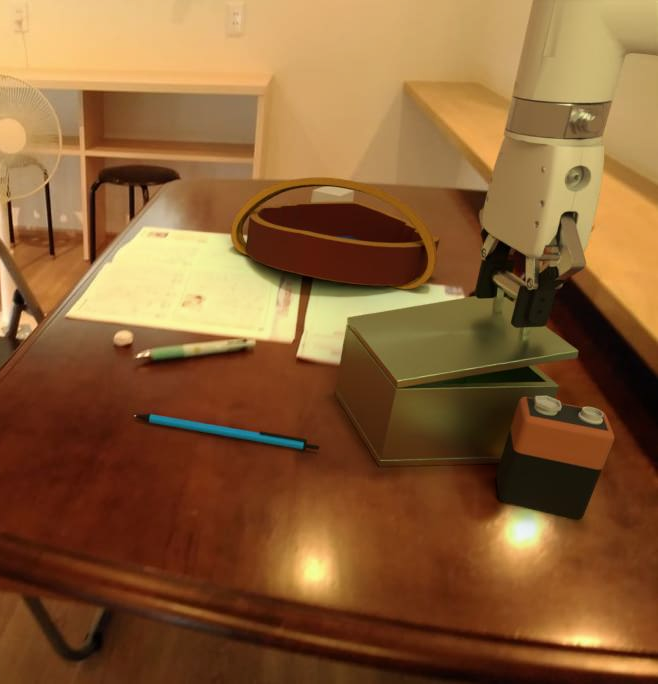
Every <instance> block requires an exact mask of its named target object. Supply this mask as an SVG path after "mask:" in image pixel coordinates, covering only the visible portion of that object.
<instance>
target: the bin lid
mask: <svg viewBox="0 0 658 684" xmlns="http://www.w3.org/2000/svg"><path fill="white" fill-rule="evenodd" d="M489 279H490V281H491V283H493V284H494V285H495V287H494V297H493V298H485V299H479V298H477V297H476V296H475V295H474V296H473V295H472V296H467V297H461V298H456V299H450V300H449V299H448V300H443V301H437V302H432V303H425V304H420V305H413V306H409V307H408V306H407V307H402V308H395V309H390V310H385V311H384V310H383V311H377V312H371V313H366V314H365V313H364V314H360V315H354V316H348V317H347V318H346V325H349V327H350V328H351V329H352V331H353V332H354V333H355V334H356V336H357V337H358V338H359V340H360V341H361V342H362V343H363V345H364V346H365V347H366V349H367V350H368V351H369V352H370V354H371V355H372V356H373V358H374V359H375V360H376V362H377V363H378V364H379V365H380V367H381V368H382V369H383V371H384V372H385V373H386V374H387V376H388V377H389V378H390V380H391V381H392V382H393V383H394V385H395V386H396V387H397V388H401V387H407V386H413V385H419V384H425V383H431V382H437V381H443V380H449V379H455V378H461V377H467V376H473V375H479V374H485V373H491V372H497V371H503V370H509V369H515V368H521V367H527V366H533V365H535V366H538V365H539V366H540V365H545V364H549V363H555V362H562V361H567V360H574V359H578V358H579V357H578V356H579V350H578V349H577V348H576V347H574V346H573V345H572V344H570V343H569V342H567V341H566V340H565V339H563V338H562V337H561V336H559V335H558V334H557V333H555V332H554V331H552V330H551V329H550V328H548V327H547V326H546V325H545V326H543V327H524V328H515V327H514V326H513V325H512V324H511V319H512V315H513V311H514V307H515V303H514V302H513V301H511V299H509V298H508V297H507V296H509V297H510V298H512V299H513V300H515V301H516V299H517V295H518V291H519V288H520V286H526V281H525V280H523V279H521V278H520V277H518V276H517V275H515V274H514V273H511V272H509V271H508V270H506V269H505V268H503V267H498V268H496V269H494V270H493V271H492V272H491V273H490V276H489ZM504 292H505V293H507V296H506V297H504Z"/></svg>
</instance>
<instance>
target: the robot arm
mask: <svg viewBox="0 0 658 684" xmlns="http://www.w3.org/2000/svg"><path fill="white" fill-rule="evenodd" d="M630 54H638V55H649V56H657V57H658V0H532V2H531V6H530V12H529V17H528V21H527V26H526V31H525V34H524V39H523V44H522V49H521V54H520V58H519V63H518V67H517V71H516V76H515V81H514V86H513V89H512V96H511V100H510V104H509V108H508V114H507V118H506V122H505V127H504V131H503V136H504V137H503V139H502V142H501V145H500V148H499V151H498V154H497V156H496V159H495V161H494V162H495V163H494V166H493V170H492V173H491V176H490V180H489V183H488V187H487V192H486V196H485V201H484V205H483V207H482V208H481V209H480V210H479V212H478V220H479V225H480V227H481V233H480V236H481V237H480V238H481V242H482V246H481V248H480V252H479V255H480V258H481V259H482V260H481V262H480V266H479V271H478V276H477V280H476V285H475V288H474V296H476V297H477V298H479V299H485V298H493V297H494V287H495V285H494V284H493V283H491V281H490V279H489V276H490V273H491V272H492V271H493V270H494V269H496V268H498V267H503V268H505V269H506V270H508V271H509V272H511V273H512V274H514V269H515V266H516V265H515V264H516V260H515V259H514V258H512V256H514V254H515V252H516V251H517V252H519V253H521V254H522V255H524V256H525V282H526V286H520V288H519V291H518V295H517V299H516V300H515V303H514V304H515V307H514V311H513V315H512V319H511V324H512V325H513V326H514V327H515V328H524V327H543V326H546V325H547V324H548V322H549V318H550V314H551V310H552V306H553V304H554V300H555V297H556V292H557V290H561V289H562V288H563V285H564V283H566V282H567V281H569V280H570V279H571V278H572V277H573V276H574V275H576V274H578V273H579V272H581V271H582V270H583V269H585V268H586V266H587V261H586V257H585V252H586V251H587V248H588V245H589V241H590V238H591V234H592V230H593V226H594V222H595V217H596V214H597V208H598V204H599V199H600V194H601V188H602V182H603V174H604V165H605V144H604V143H602V140H603V136H604V133H605V129H606V126H607V123H608V120H609V119H608V118H609V115H610V111H611V108H612V104H613V100H614V98H615V95H616V91H617V86H618V84H619V79H620V77H621V72H622V69H623V65H624V62H625V58H626V56H627V55H630ZM545 248H550V252H548V253H545V252H544V251H545ZM546 261H548V262H549V263H548V266H547V268H545V269H544V270H542V271H541V272H540V262H546ZM507 296H508V294H507V293H505V292H504V297H506V298H507Z"/></svg>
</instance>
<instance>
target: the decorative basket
mask: <svg viewBox="0 0 658 684" xmlns="http://www.w3.org/2000/svg"><path fill="white" fill-rule="evenodd" d="M324 186H328V187H339V188H343V189H348V190H353V191H357V192H359V193H364V194H367V195H370V196H373V197H375V198H378V199H380V200H382V201H383V202H385V203H387V204H389V205H390V206H392V207H394V208H395V209H397V210H398V212H400V213H401V214H402V215H403V216H404V217H405V218H406V219H405V218H403V217H400V216H397V215H395V214H393V213H390V212H387V211H385V210H383V209H380V208H377V207H375V206H372V205H369V204H366V203H363V202H360V201H353V202H311V201H309V202H307V201H306V202H305V201H304V202H292V203H285V204H284V203H283V204H275V205H263V204H264V203H266V202H267V201H269V200H271V199H273V198H274V197H276V196H279V195H280V194H283V193H287V192H289V191H293V190H296V189H302V188H310V187H313V188H314V187H324ZM247 219H248V228H247V236H246V239H245V237H244V233H243V231H244V229H243V228H244V224H245V223H246V220H247ZM230 239H231V242H232V245H233V246H234V248H235V249H236V250H237V251H238V252H239V253H241V254H243V255H246V256H249V257H250V258H252V259H253V260H255V261H256V262H258V263H260V264H263V265H264V266H265V265H266V266H268V267H270V268H275V269H276V270H277V269H278V270H282V271H284V272H285V271H286V272H289V273H295V274H298V275H301V276H307V277H311V278H316V279H320V280H326V281H332V282H338V283H346V284H352V285H363V286H364V285H365V286H384V287H389V288H395V289H403V290H411V289H416V288H419V287H420V286H422V285H424V284H425V283H426V282H427V281H428V280H429V279H430V278H431V276H432V275H433V273H434V271H435V269H436V267H437V262H438V248H439V243H440V237H437V236H436V235H433V234H432V233H431V231H430V229H429V227H428V226H427V224H426V223H425V221H424V220H423V219H422V218H421V217H420V216H419V214H418V213H417V212H416V211H414V209H412V208H411V206H408V205H407V204H406V203H404V201H402V200H400V199H398V198H396V197H395V196H393V195H391V194H389V193H388V192H385V191H383V190H381V189H378V188H376V187H373V186H371V185H368V184H364V183H361V182H359V181H353V180H349V179H344V178H343V179H342V178H335V177H322V176H321V177H319V176H318V177H302V178H295V179H290V180H286V181H281V182H279V183H276V184H273V185H271V186H268V187H266V188H264V189H262V190H260V191H259V192H257V193H256V194H254V195H253V196H252V197H251V198H250V199H248V200H247V201H246V202H245V203H244V205H243V206H241V208H240V209H239V211H238V212H237V214H236V216H235V218H234V219H233V222H232V225H231V227H230Z"/></svg>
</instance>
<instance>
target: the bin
mask: <svg viewBox="0 0 658 684" xmlns="http://www.w3.org/2000/svg"><path fill="white" fill-rule="evenodd" d="M337 371H338V372H337V377H336V383H335V390H334V395H335V397H336V398H337V400H338V402H339V403H340V405H341V406H342V408H343V410H344V412H345V413H346V416H348V418H349V420H350V422H351V423H352V425H353V426H354V428H355V429H356V431H357V433H358V435H359V436H360V438H361V440H362V441H363V443H364V445H365V446H366V448H367V449H368V451H369V453H370V455H371V456H372V458H373V459H374V461H375V463H376V464H377V466H378V467H379V468H380V467H381V468H389V467H419V466H420V467H421V466H422V467H426V466H459V465H460V466H461V465H462V466H463V465H464V466H465V465H495V464H496V465H497V464H498V465H499V463H500V460H501V457H502V454H503V451H504V447H505V444H506V441H507V438H508V435H509V432H510V428H511V425H512V422H513V419H514V416H515V412H516V409H517V406H518V403H519V400H520V399H521V398H522V397H530V398H535V396H549V397H551V398H554V399H556V396H557V393H558V392H559V391H558V390H559V388H560V385H559V384H558V383H557V382H555V381H554V380H553V379H552V378H551V377H549V376H548V375H547V374H546V373H544V371H542V370H541V369H540V368H539V367H537V365H533V366H527V367H521V368H515V369H509V370H503V371H497V372H491V373H485V374H479V375H473V376H467V377H461V378H455V379H449V380H443V381H437V382H431V383H425V384H419V385H413V386H407V387H401V388H397V387H396V386H395V385H394V383H393V382H392V381H391V380H390V378H389V377H388V376H387V374H386V373H385V372H384V371H383V369H382V368H381V367H380V365H379V364H378V363H377V362H376V360H375V359H374V358H373V356H372V355H371V354H370V352H369V351H368V350H367V349H366V347H365V346H364V345H363V343H362V342H361V341H360V340H359V338H358V337H357V336H356V334H355V333H354V332H353V331H352V329H351V328H350V327H349V325H348V324H346V325H345V332H344V337H343V342H342V348H341V355H340V361H339V365H338V370H337Z"/></svg>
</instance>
